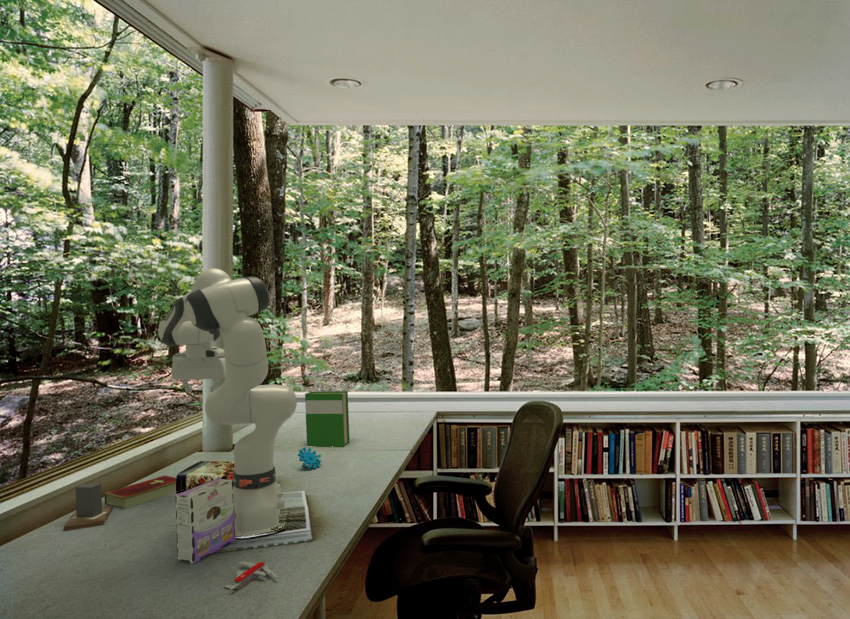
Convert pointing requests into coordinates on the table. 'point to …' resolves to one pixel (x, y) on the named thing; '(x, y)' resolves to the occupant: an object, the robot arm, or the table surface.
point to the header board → (88, 520)
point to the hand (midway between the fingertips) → (201, 392)
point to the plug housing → (88, 500)
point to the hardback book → (327, 418)
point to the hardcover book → (141, 492)
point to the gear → (309, 458)
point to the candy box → (204, 520)
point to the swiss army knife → (249, 574)
